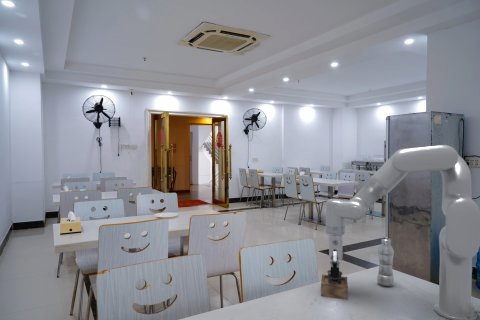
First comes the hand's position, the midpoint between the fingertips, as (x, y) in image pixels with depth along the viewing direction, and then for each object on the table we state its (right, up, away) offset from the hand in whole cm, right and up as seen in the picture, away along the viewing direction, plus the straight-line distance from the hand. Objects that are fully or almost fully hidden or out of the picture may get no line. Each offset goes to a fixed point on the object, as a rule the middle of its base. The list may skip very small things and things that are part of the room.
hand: (334, 273), depth 132 cm
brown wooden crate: (0, -8, 0) cm, 8 cm away
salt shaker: (0, -3, 0) cm, 3 cm away
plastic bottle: (+24, -8, +8) cm, 27 cm away
